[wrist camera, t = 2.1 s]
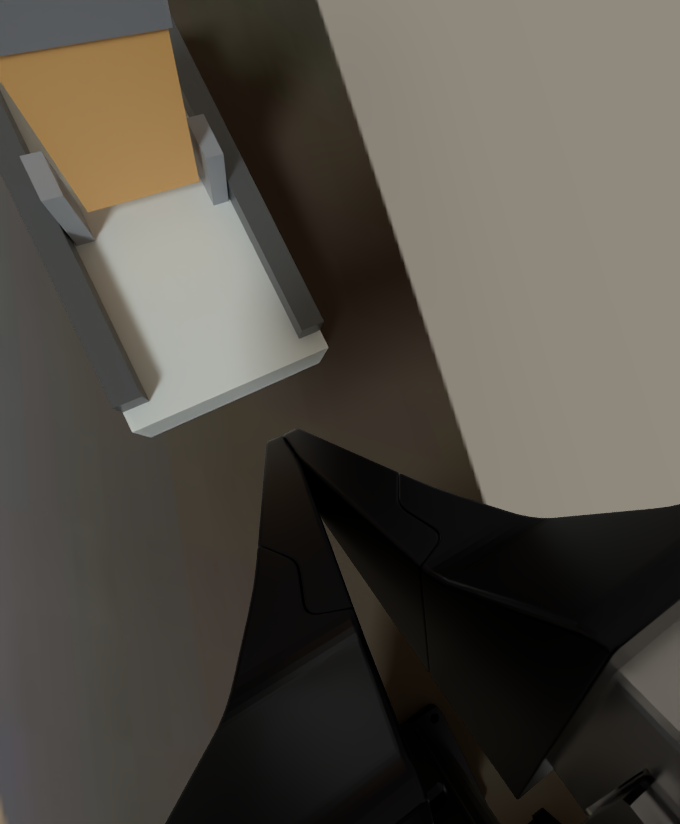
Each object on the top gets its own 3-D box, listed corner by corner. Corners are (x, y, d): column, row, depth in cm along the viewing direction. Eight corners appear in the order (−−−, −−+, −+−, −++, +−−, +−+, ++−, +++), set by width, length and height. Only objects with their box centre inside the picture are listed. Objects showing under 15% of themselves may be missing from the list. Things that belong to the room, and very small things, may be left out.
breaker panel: (319, 362, 22) (341, 326, 16) (150, 437, 20) (105, 425, 14) (173, 70, 23) (144, -65, 17) (-8, 106, 20) (-116, -40, 14)
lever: (203, 183, 17) (159, -43, 10) (87, 216, 16) (-72, -17, 8) (186, 150, 17) (129, -102, 10) (69, 179, 16) (-105, -85, 8)
